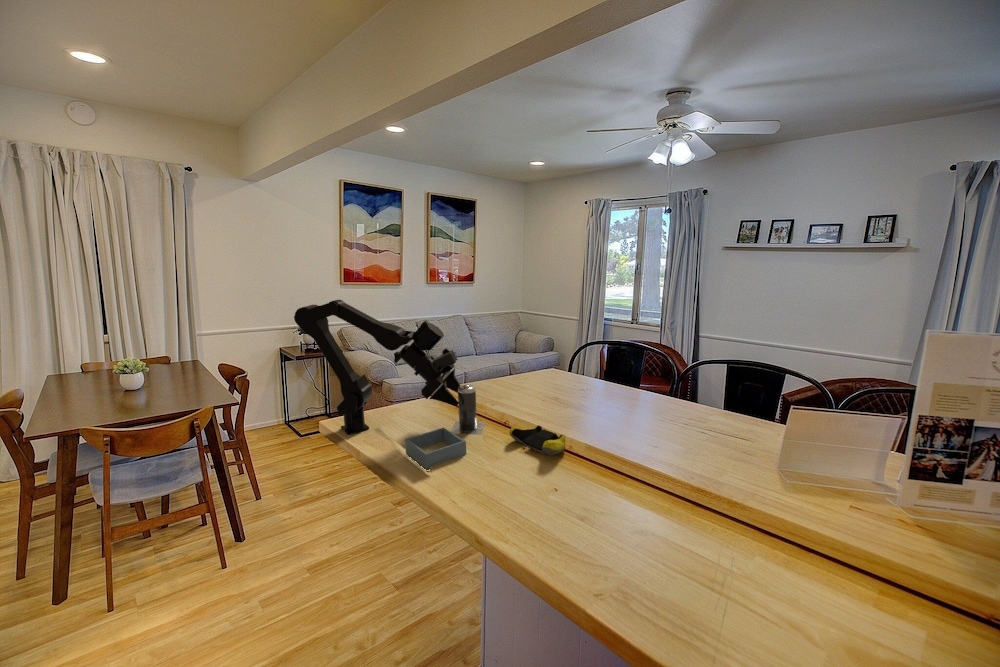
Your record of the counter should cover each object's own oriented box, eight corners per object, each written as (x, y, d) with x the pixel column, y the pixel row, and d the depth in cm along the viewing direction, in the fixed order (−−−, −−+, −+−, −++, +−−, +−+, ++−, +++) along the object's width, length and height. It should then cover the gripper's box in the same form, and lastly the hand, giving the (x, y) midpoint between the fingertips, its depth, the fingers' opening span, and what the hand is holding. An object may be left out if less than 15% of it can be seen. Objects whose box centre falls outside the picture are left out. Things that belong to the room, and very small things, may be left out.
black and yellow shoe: (549, 466, 106) (575, 452, 112) (548, 445, 104) (575, 432, 111) (506, 446, 116) (532, 435, 123) (505, 427, 115) (532, 416, 122)
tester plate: (449, 436, 123) (449, 433, 123) (456, 424, 132) (455, 421, 131) (481, 437, 122) (481, 434, 122) (485, 424, 131) (485, 421, 131)
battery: (456, 426, 127) (454, 385, 125) (470, 422, 130) (469, 381, 128) (465, 432, 123) (463, 389, 121) (480, 427, 126) (478, 385, 124)
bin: (406, 454, 113) (404, 438, 112) (444, 442, 119) (443, 427, 119) (426, 471, 104) (425, 454, 103) (466, 457, 111) (465, 441, 110)
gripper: (430, 349, 113) (474, 390, 114) (446, 335, 132) (484, 370, 133) (403, 379, 116) (446, 418, 117) (422, 360, 134) (459, 395, 135)
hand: (460, 398), depth 125 cm, fingers open, 9 cm apart
